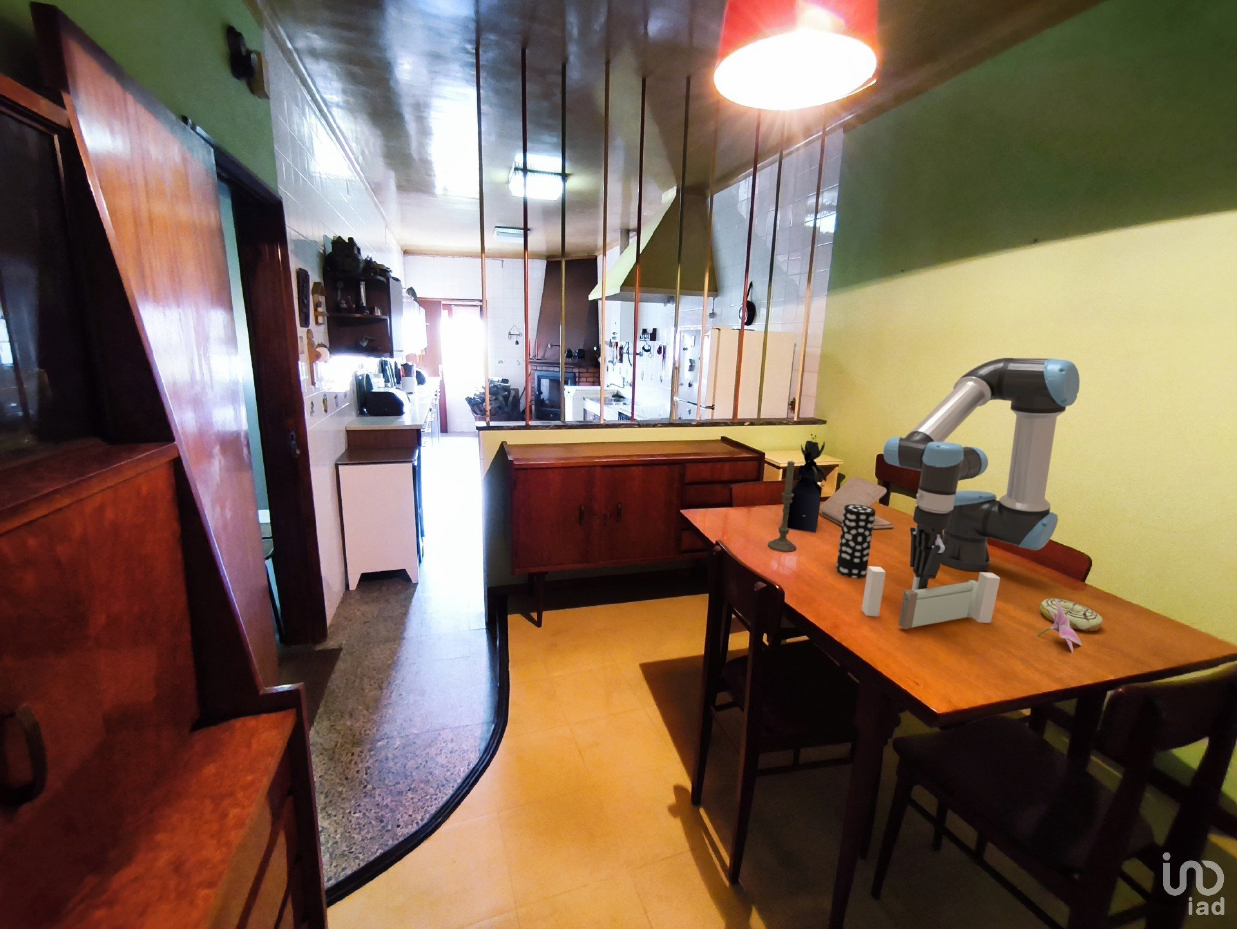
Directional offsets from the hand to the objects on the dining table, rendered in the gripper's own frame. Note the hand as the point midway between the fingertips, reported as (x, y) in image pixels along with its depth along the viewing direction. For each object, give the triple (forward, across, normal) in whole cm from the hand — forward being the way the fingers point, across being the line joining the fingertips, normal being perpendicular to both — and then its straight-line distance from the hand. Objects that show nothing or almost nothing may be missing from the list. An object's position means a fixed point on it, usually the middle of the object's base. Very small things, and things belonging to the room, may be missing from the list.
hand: (917, 599), depth 126 cm
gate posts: (+6, -2, +4) cm, 7 cm away
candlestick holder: (+6, -45, -21) cm, 50 cm away
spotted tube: (+6, -27, -5) cm, 29 cm away
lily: (+6, +6, +29) cm, 31 cm away
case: (+7, -78, +14) cm, 79 cm away
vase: (+6, -67, -8) cm, 68 cm away
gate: (+5, +1, +5) cm, 7 cm away
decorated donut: (+6, -5, +40) cm, 41 cm away
